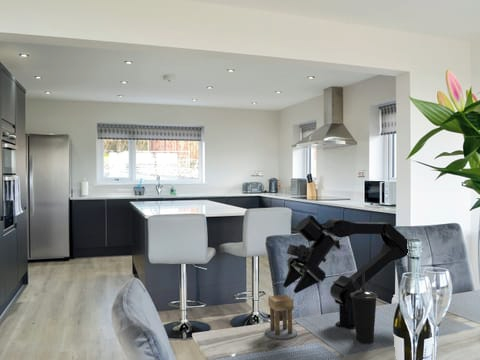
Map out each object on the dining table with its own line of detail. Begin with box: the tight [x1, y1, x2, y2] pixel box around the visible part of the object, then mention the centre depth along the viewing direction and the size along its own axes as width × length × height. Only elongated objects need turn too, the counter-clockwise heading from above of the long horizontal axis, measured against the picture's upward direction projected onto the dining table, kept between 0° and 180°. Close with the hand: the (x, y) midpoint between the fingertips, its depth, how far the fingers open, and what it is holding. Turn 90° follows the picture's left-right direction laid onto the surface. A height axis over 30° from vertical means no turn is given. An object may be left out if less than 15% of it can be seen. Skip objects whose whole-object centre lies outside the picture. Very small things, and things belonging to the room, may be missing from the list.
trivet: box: [264, 325, 298, 340], centre depth 132 cm, size 10×10×1 cm
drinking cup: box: [351, 273, 378, 345], centre depth 124 cm, size 8×8×20 cm
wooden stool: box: [267, 294, 295, 336], centre depth 132 cm, size 6×6×10 cm
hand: (289, 289), depth 132 cm, fingers open, 9 cm apart
